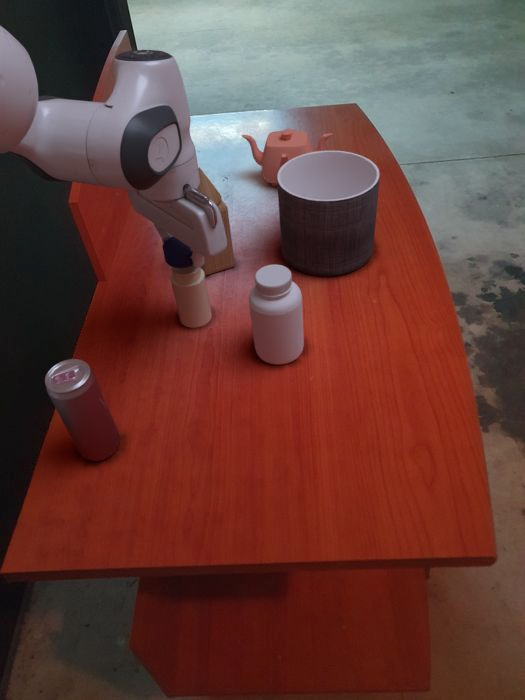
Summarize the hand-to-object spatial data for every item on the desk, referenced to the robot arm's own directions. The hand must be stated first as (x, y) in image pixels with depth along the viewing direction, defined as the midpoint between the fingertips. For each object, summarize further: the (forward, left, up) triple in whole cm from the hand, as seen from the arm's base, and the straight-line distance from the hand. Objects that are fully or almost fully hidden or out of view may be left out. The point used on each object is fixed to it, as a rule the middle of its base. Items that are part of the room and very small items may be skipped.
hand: (183, 255), depth 90 cm
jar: (0, 0, -13) cm, 13 cm away
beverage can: (-17, -23, -14) cm, 32 cm away
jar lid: (0, 0, +2) cm, 2 cm away
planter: (+27, +13, -14) cm, 33 cm away
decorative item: (+5, +15, -14) cm, 21 cm away
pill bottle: (+12, -11, -14) cm, 21 cm away
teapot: (+26, +41, -14) cm, 50 cm away
